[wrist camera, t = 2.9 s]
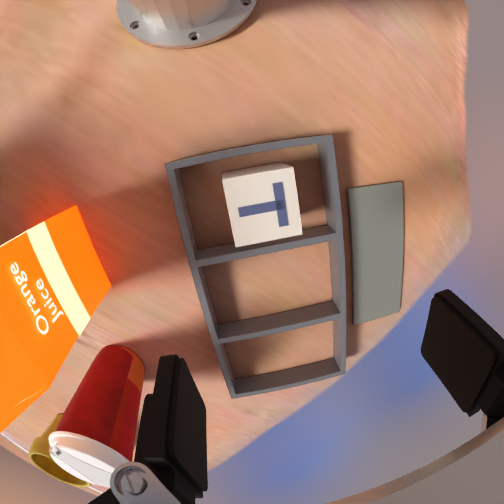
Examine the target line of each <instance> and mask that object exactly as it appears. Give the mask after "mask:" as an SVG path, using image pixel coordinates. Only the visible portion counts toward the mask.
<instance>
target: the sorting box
mask: <svg viewBox="0 0 504 504" xmlns="http://www.w3.org/2000/svg"><path fill="white" fill-rule="evenodd" d="M312 144H317V147H318V153H319V161H320V168H321V176H322V184H323V192H324V201H325V210H326V220H327V225H324V226H319V227H314V228H308V229H303V230H302V235H297V236H292V237H287V238H281V239H276V240H271V241H266V242H261V243H256V244H251V245H246V246H241V247H235V243H231V244H226V245H221V246H216V247H211V248H206V249H201V250H198V249H197V245H196V241H195V237H194V232H193V228H192V224H191V220H190V216H189V211H188V207H187V203H186V198H185V194H184V190H183V185H182V180H181V176H180V171H179V168H182V167H187V166H191V165H196V164H200V163H205V162H209V161H214V160H219V159H224V158H229V157H235V156H240V155H246V154H251V153H257V152H263V151H269V150H276V149H282V148H289V147H296V146H304V145H312ZM165 167H166V172H167V176H168V181H169V185H170V190H171V194H172V198H173V203H174V207H175V211H176V215H177V219H178V223H179V227H180V231H181V235H182V239H183V243H184V247H185V250H186V254H187V258H188V262H189V265H190V269H191V272H192V276H193V280H194V283H195V287H196V290H197V294H198V297H199V300H200V304H201V307H202V310H203V314H204V317H205V320H206V324H207V327H208V330H209V333H210V336H211V340H212V343H213V346H214V349H215V352H216V355H217V358H218V361H219V364H220V367H221V370H222V373H223V376H224V379H225V382H226V385H227V387H228V390H229V393H230V396H231V399H232V398H239V397H245V396H251V395H256V394H262V393H267V392H272V391H277V390H282V389H286V388H291V387H295V386H300V385H304V384H308V383H312V382H316V381H320V380H324V379H327V378H331V377H335V376H338V375H342V374H345V371H346V279H345V256H344V239H343V225H342V213H341V202H340V192H339V183H338V174H337V165H336V158H335V150H334V143H333V136H332V135H320V136H311V137H303V138H295V139H288V140H280V141H274V142H267V143H261V144H255V145H249V146H243V147H238V148H232V149H227V150H222V151H217V152H212V153H207V154H202V155H198V156H193V157H189V158H185V159H180V160H176V161H172V162H169V163H166V164H165ZM327 241H329V254H330V267H331V283H332V301H328V302H324V303H320V304H316V305H312V306H307V307H303V308H298V309H294V310H289V311H285V312H280V313H275V314H270V315H266V316H261V317H256V318H251V319H245V320H240V321H235V322H229V323H224V324H218V323H217V320H216V316H215V313H214V309H213V305H212V302H211V298H210V294H209V291H208V287H207V283H206V280H205V276H204V272H203V268H202V266H206V265H211V264H217V263H222V262H227V261H232V260H237V259H242V258H247V257H252V256H257V255H262V254H267V253H272V252H277V251H282V250H287V249H292V248H297V247H302V246H307V245H312V244H317V243H322V242H327ZM331 320H333V330H334V358H331V359H327V360H324V361H320V362H316V363H312V364H308V365H303V366H299V367H295V368H290V369H286V370H281V371H277V372H272V373H267V374H262V375H256V376H251V377H246V378H240V379H234V376H233V373H232V370H231V367H230V363H229V360H228V357H227V354H226V350H225V347H224V344H223V343H228V342H234V341H240V340H245V339H250V338H255V337H260V336H265V335H270V334H275V333H280V332H284V331H289V330H293V329H298V328H302V327H307V326H311V325H315V324H319V323H323V322H327V321H331Z"/></svg>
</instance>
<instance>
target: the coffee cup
mask: <svg viewBox="0 0 504 504" xmlns="http://www.w3.org/2000/svg"><path fill="white" fill-rule="evenodd" d="M144 372H145V368H144V364H143V362H142V360H141V359H140V358H139V356H138V355H137V354H135V353H134V352H133V351H131V350H129V349H127V348H125V347H122V346H118V345H109V346H106V347H104V348H102V349H101V351H100V352H99V353H98V355H97V356H96V358H95V359H94V361H93V363H92V364H91V366H90V368H89V369H88V371H87V373H86V375H85V376H84V378H83V380H82V382H81V383H80V385H79V387H78V389H77V391H76V392H75V394H74V396H73V398H72V399H71V401H70V403H69V405H68V406H67V408H66V410H65V412H64V414H63V416H62V418H61V420H60V422H59V424H58V426H57V429H56V431H55V432H52V433H51V434H50V435H49V438H48V439H49V444H50V449H49V452H50V455H51V457H52V459H53V460H54V461H55V462H56V463H57V464H58V465H59V466H60V467H61V468H63V469H64V470H65V471H67V472H68V473H70V474H72V475H73V476H75V477H77V478H79V479H81V480H84V481H86V482H89V483H92V484H95V485H99V486H104V487H110V477H111V474H112V473H113V471H114V470H115V469H116V468H117V467H118V466H119V465H121V464H123V463H126V462H132V457H133V448H134V440H135V433H136V426H137V419H138V412H139V405H140V399H141V393H142V387H143V380H144Z"/></svg>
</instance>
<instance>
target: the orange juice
mask: <svg viewBox="0 0 504 504" xmlns="http://www.w3.org/2000/svg"><path fill="white" fill-rule="evenodd" d="M110 287H111V284H110V282H109V280H108V278H107V276H106V273H105V271H104V269H103V267H102V265H101V263H100V261H99V258H98V256H97V254H96V252H95V249H94V247H93V245H92V242H91V240H90V238H89V235H88V233H87V230H86V228H85V225H84V223H83V220H82V218H81V215H80V213H79V210H78V207H77V205H75V206H73V207H71V208H69V209H67V210H65V211H63V212H61V213H59V214H57V215H55V216H53V217H51V218H49V219H47V220H45V221H43V222H41V223H40V224H38V225H36V226H34V227H32V228H30V229H28V230H27V231H25V232H23V233H21V234H20V235H18V236H16V237H15V238H13V239H11V240H9V241H8V242H6V243H4V244H3V245H1V246H0V433H1V432H2V431H3V430H4V429H5V428H6V427H7V426H8V425H9V424H10V423H11V422H12V421H14V420H15V419H16V418H17V417H18V416H19V415H20V414H21V413H22V412H23V411H24V410H25V409H27V408H28V407H29V406H30V405H31V404H32V403H33V402H34V401H35V400H36V399H37V398H39V397H40V396H41V395H42V394H43V393H44V392H45V391H46V390H47V389H49V388H50V387H51V386H50V385H51V383H52V382H53V380H54V378H55V376H56V374H57V372H58V371H59V369H60V367H61V365H62V364H63V362H64V360H65V358H66V357H67V355H68V353H69V351H70V350H71V348H72V346H73V345H74V343H75V341H76V340H77V338H78V336H80V335H81V333H82V331H83V330H84V328H85V326H86V325H87V323H88V322H89V320H90V319H91V318H90V317H91V316H92V314H93V313H94V311H95V310H96V308H97V306H98V305H99V303H100V302H101V300H102V299H103V297H104V296H105V294H106V293H107V291H108V290H109V289H110Z"/></svg>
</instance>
